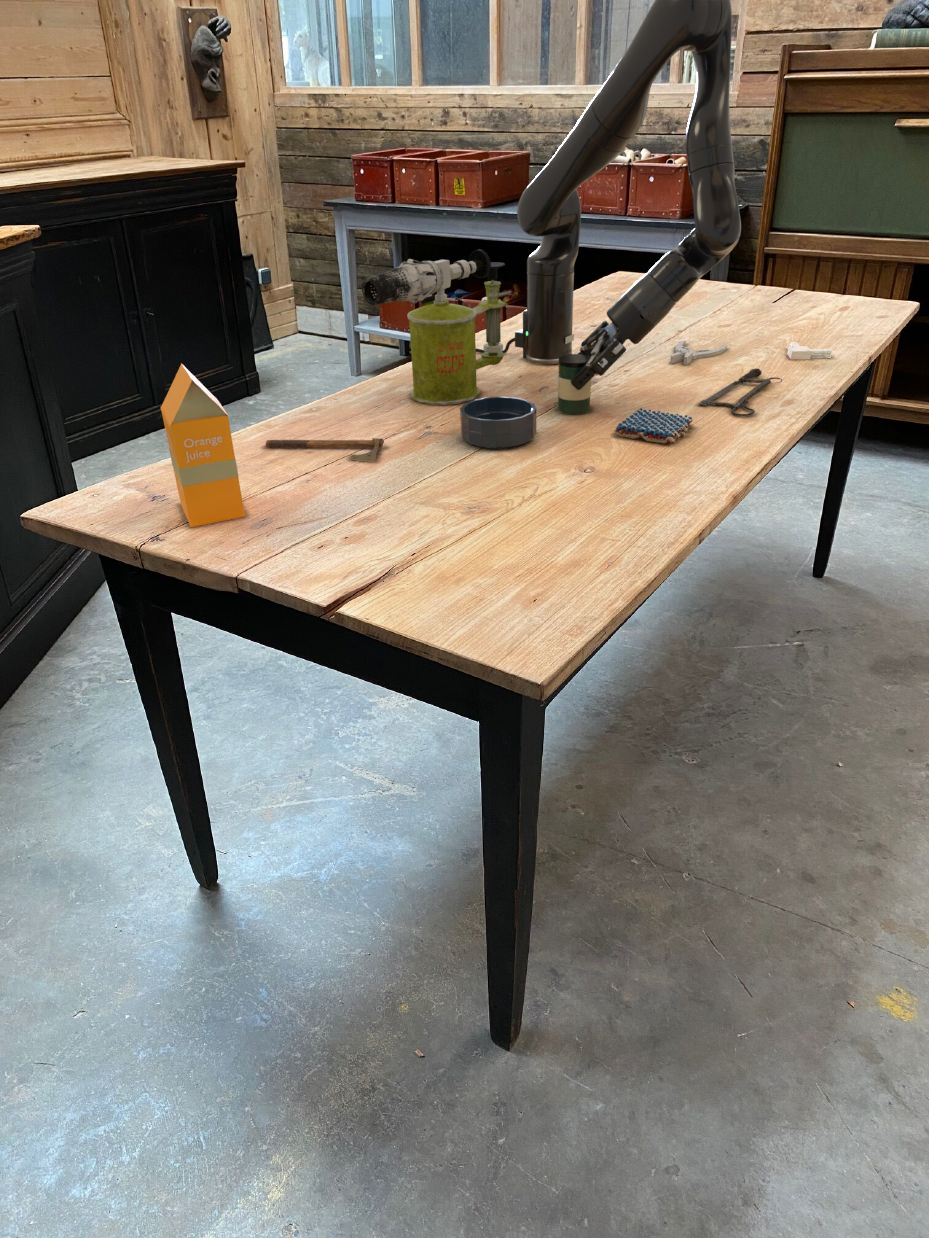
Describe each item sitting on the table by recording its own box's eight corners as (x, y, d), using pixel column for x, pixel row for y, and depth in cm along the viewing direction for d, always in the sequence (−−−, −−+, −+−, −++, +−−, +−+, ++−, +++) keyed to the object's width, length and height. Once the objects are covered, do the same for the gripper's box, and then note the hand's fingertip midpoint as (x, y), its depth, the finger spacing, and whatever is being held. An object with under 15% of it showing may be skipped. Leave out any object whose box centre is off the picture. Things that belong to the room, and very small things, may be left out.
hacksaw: (752, 374, 180) (753, 366, 179) (804, 382, 174) (806, 374, 173) (692, 407, 164) (693, 399, 163) (748, 418, 158) (749, 410, 158)
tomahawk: (256, 464, 150) (255, 457, 149) (269, 443, 156) (268, 436, 155) (376, 465, 147) (375, 458, 147) (384, 444, 153) (383, 437, 152)
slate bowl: (446, 441, 154) (445, 411, 151) (492, 420, 162) (491, 392, 159) (505, 456, 147) (505, 425, 145) (550, 434, 155) (550, 404, 153)
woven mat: (696, 427, 156) (697, 415, 155) (672, 447, 148) (673, 435, 147) (637, 417, 161) (638, 406, 160) (611, 436, 153) (611, 424, 152)
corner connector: (823, 348, 193) (824, 340, 192) (832, 359, 186) (833, 351, 186) (783, 348, 194) (784, 340, 193) (790, 359, 187) (792, 351, 186)
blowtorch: (528, 379, 182) (528, 242, 169) (406, 424, 161) (395, 273, 149) (478, 368, 189) (474, 236, 177) (356, 410, 169) (342, 264, 156)
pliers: (728, 341, 195) (702, 359, 184) (727, 349, 195) (701, 367, 185) (683, 336, 199) (655, 353, 189) (682, 343, 200) (654, 361, 189)
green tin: (551, 410, 165) (551, 360, 161) (569, 402, 169) (570, 352, 164) (578, 416, 162) (579, 365, 157) (596, 408, 166) (598, 357, 161)
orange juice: (189, 527, 128) (160, 383, 118) (179, 504, 135) (151, 366, 125) (246, 516, 131) (222, 374, 121) (233, 494, 138) (210, 358, 128)
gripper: (619, 284, 162) (552, 353, 167) (633, 302, 149) (560, 376, 155) (648, 314, 164) (581, 381, 170) (664, 334, 152) (591, 406, 158)
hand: (571, 379), depth 163 cm, fingers open, 8 cm apart
